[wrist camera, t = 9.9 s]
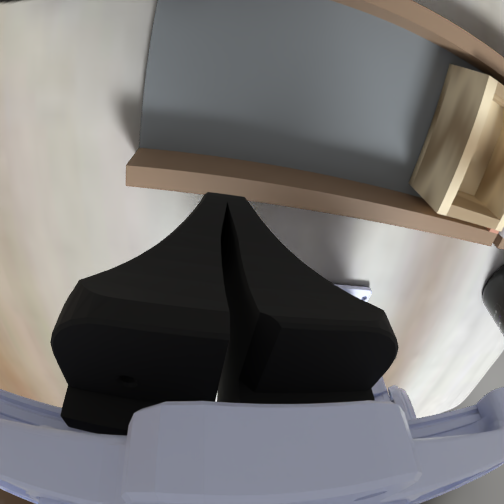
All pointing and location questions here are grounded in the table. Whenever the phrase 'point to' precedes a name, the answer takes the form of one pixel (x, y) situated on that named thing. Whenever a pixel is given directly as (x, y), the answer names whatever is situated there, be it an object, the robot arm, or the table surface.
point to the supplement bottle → (495, 297)
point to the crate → (465, 151)
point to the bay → (302, 104)
